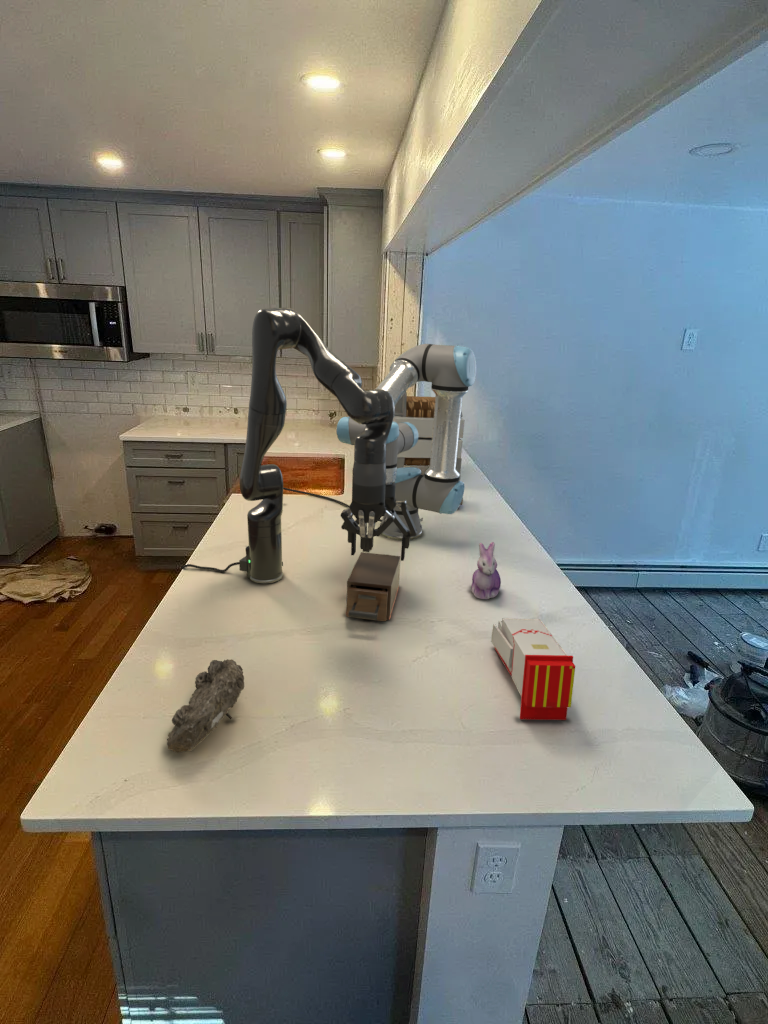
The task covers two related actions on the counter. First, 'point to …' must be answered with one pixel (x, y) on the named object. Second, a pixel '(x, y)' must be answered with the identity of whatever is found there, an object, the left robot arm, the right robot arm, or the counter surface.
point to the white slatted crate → (421, 430)
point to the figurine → (486, 574)
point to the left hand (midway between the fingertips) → (366, 550)
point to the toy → (535, 667)
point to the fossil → (206, 705)
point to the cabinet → (377, 575)
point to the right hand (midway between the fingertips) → (377, 556)
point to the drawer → (367, 603)
